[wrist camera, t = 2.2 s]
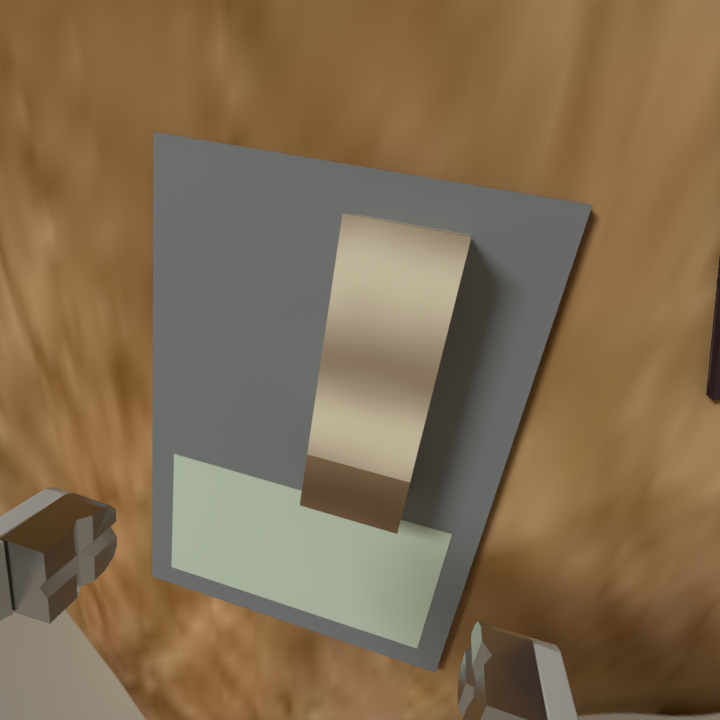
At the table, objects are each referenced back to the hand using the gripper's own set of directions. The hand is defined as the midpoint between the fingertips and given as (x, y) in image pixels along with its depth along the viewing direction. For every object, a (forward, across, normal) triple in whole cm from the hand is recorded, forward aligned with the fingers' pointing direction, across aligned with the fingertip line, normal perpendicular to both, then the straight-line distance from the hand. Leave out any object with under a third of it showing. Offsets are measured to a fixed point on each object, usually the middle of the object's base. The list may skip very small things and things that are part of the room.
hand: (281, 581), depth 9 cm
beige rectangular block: (+13, 0, -1) cm, 13 cm away
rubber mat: (+14, +3, +4) cm, 15 cm away
